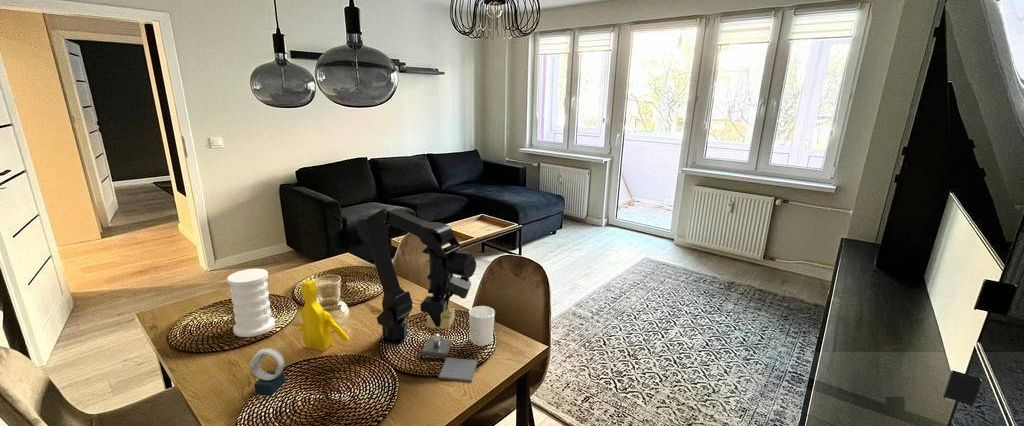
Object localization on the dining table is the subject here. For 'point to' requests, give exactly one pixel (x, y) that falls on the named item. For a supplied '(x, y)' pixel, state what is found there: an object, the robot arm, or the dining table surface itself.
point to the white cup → (481, 325)
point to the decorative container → (250, 302)
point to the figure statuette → (316, 320)
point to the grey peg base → (436, 347)
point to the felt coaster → (458, 369)
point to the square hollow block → (443, 319)
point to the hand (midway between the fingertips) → (441, 320)
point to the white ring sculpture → (270, 379)
